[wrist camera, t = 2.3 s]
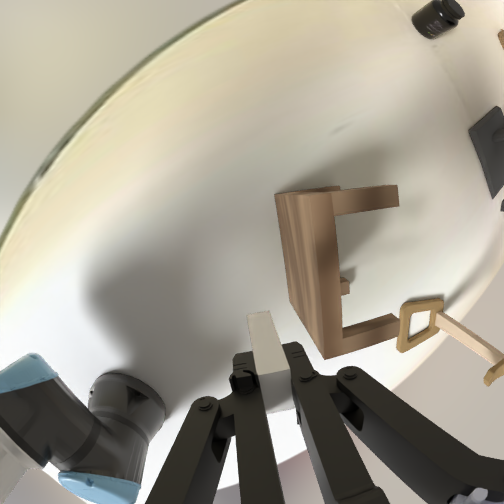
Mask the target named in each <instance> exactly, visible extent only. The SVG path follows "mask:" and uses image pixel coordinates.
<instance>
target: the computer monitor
mask: <svg viewBox="0 0 504 504" xmlns="http://www.w3.org/2000/svg"><path fill="white" fill-rule="evenodd" d="M469 134H470V136H471V138H472V141H473V143H474V146H475V148H476V151H477V153H478V156H479V159H480V162H481V164H482V167H483V170H484V173H485V176H486V179H487V183H488V186H489V189H490V193H491V196H492V200H493V198H494V197H495V196H496V195H497V193H498V192H499V191H500V189H501V188H502V187H503V185H504V116H503V113H502V110H501V108H499V107H498V106H496V107H495V108H494V109H493V110H492V111H490V112H489V113H488V114H487V115H486V116H485V117H484V118H483V119H481V120H480V121H479V122H478V123H477V124H476V125H475V126H473V127H472V128H471V129H470V130H469ZM501 211H503V212H504V200H503V201H502V204H501Z"/></svg>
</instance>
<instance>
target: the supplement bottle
mask: <svg viewBox="0 0 504 504" xmlns="http://www.w3.org/2000/svg"><path fill="white" fill-rule="evenodd" d="M464 16H465V13H464V11H463V9H462V8H461V6H460V5H459V4H458V3H457V2H456V1H455V0H432V1H431V2H429V3H428V4H427V5H425V6H424V7H422V8H421V9H420V10H418V11H417V12H416V13H415V14H413V16H412V23H413V25H414V26H415V28H416V29H417V30H418V32H419V33H421V34H422V35H423V36H425V37H426V38H429V39H435V38H437V37H439V36H440V35H442V34H444V33H446V32H448V31H449V30H451V29H453V28H455V27H456V26H457V25H458V20H460V19H461V18H462V17H464Z"/></svg>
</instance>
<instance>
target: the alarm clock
mask: <svg viewBox="0 0 504 504" xmlns="http://www.w3.org/2000/svg"><path fill="white" fill-rule="evenodd" d="M501 30H502V29H501ZM498 37H499V40H500V43H501V45H502V47H503V48H504V30H502V31H501V32H499V33H498Z"/></svg>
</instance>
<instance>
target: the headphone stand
mask: <svg viewBox="0 0 504 504" xmlns="http://www.w3.org/2000/svg"><path fill="white" fill-rule="evenodd" d="M443 307H444V301H443V300H441V299H440V298H436V299H429V300H422V301H415V302H407V303H404V304H403V305H402V306H401V308H400V316H399V320H400V332H399V336H398V338H397V346H396V348H397V350H398V351H399V352H400V353H404V352H406V351H408V350H410V349H411V348H413V347H415V346H417V345H418V344H420V343H422V342H423V341H425V340H427V339H428V338H430V337H432V336H433V335H435V334H437V333H438V332H439V330H440V329H442V330H443V331H445V332H446V333H448V334H449V335H451V336H452V337H454V338H455V339H457V340H458V341H460V342H461V343H462V344H464V345H466V346H467V347H469V348H470V349H471V350H473V351H474V352H476V353H477V354H479V355H480V356H481V357H483V358H484V359H486V360H487V361H489V362H490V363H491V364H493V365H494V366H493V367H492V368H490V369H489V370H488V372H487V374H486V375H485V377H484V383H485V384H486V385H487V386H490V385H491V383H492V382H493V381H494V380H495V379H497V378H499V377H500V376H503V375H504V354H503V353H501V352H500V351H499V350H497V349H496V348H494V347H493V346H492V345H490V344H489V343H488V342H486V341H485V340H483V339H482V338H481V337H479V336H478V335H476V334H475V333H473V332H472V331H470V330H469V329H467V328H466V327H465V326H463V325H461V324H460V323H459V322H457V321H456V320H454V319H453V318H451V317H450V316H448V315H447V314H445V313H443ZM428 310H431V313H430V321H429V326H428V328H427V329H425V330H424V331H422V332H420V333H418V334H417V335H415V336H413V337H411V338H409V339H408V331H409V322H410V317H411V315H412V314H413V313H416V312H422V311H428ZM407 339H408V340H407Z"/></svg>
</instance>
